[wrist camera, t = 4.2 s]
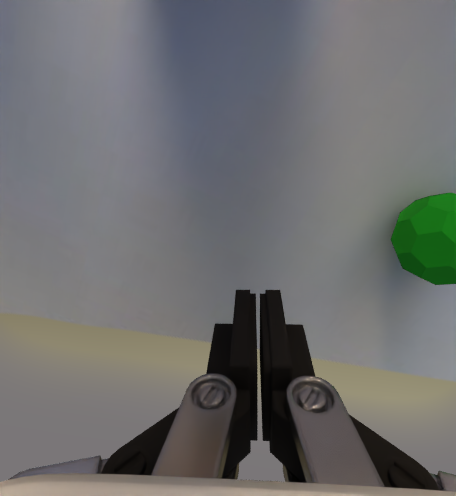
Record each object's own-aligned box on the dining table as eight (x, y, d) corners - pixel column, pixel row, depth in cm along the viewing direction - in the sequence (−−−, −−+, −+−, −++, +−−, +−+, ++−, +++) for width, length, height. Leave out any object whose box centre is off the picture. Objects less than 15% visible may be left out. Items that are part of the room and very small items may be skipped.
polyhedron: (433, 166, 18) (490, 186, 14) (481, 222, 19) (547, 257, 15) (362, 225, 20) (392, 259, 16) (409, 273, 21) (450, 318, 17)
